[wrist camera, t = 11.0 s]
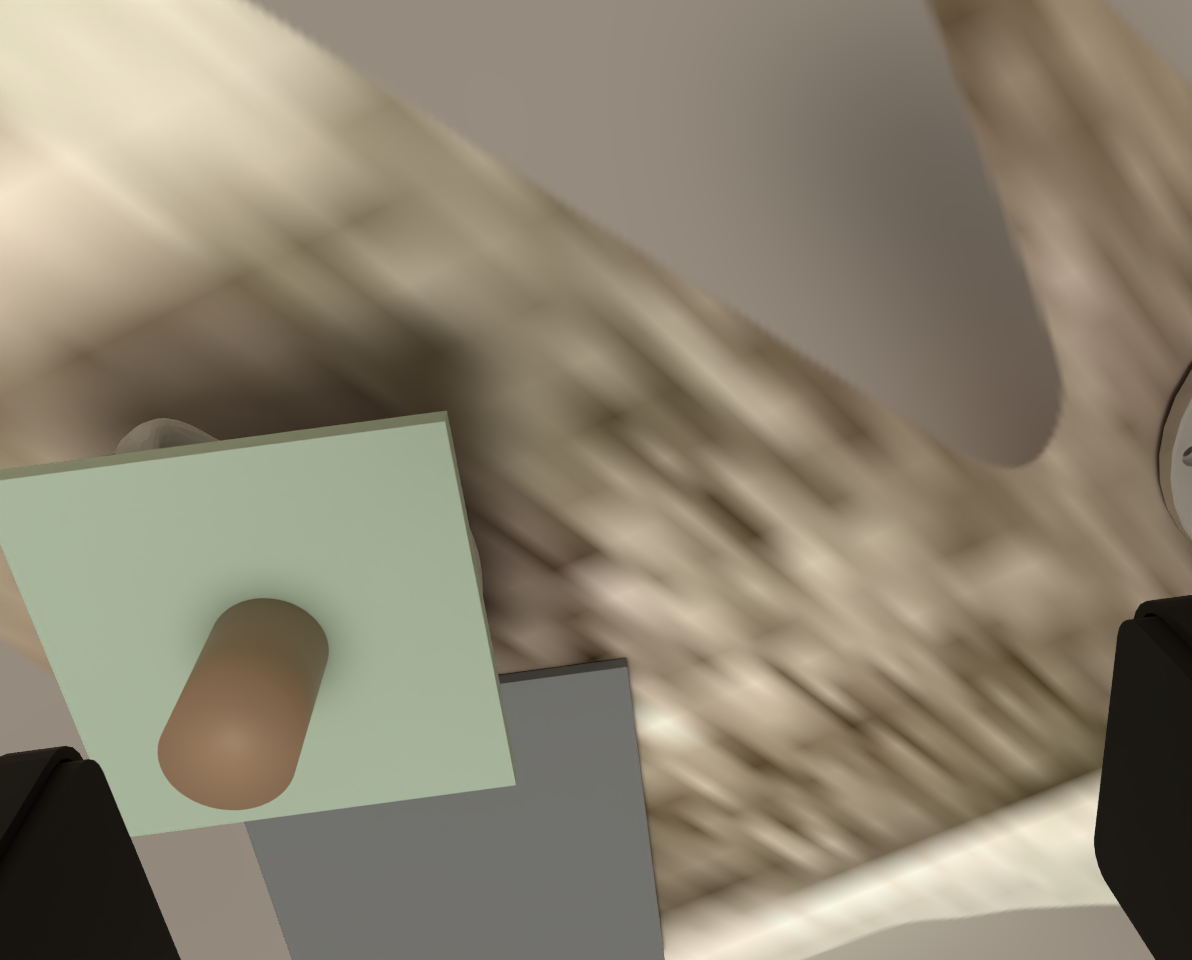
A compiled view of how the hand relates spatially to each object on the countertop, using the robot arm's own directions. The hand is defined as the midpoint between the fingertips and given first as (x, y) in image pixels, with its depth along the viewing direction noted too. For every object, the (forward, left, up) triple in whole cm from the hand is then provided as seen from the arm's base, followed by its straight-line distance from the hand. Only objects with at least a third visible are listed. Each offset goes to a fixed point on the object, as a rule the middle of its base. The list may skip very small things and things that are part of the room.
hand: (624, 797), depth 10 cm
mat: (+8, +27, -28) cm, 40 cm away
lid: (+10, +10, -20) cm, 25 cm away
